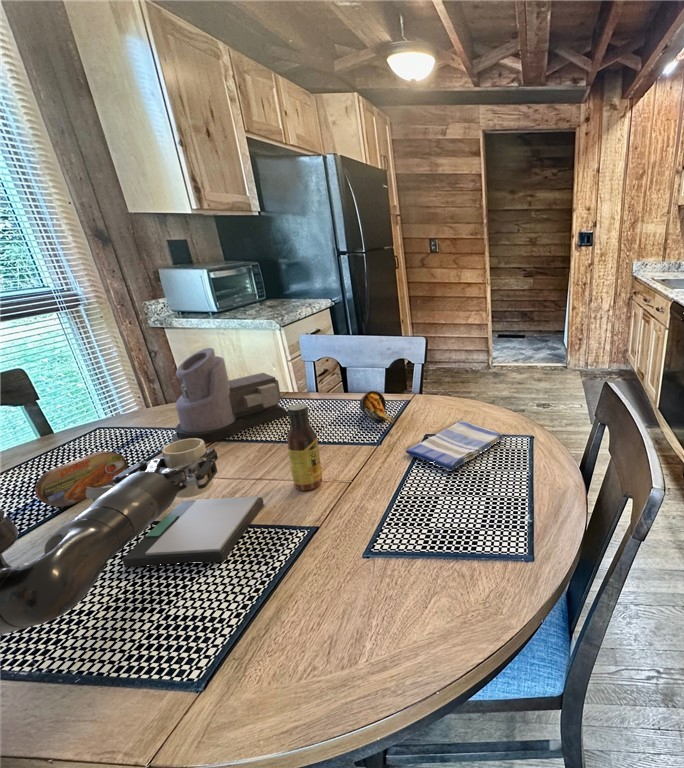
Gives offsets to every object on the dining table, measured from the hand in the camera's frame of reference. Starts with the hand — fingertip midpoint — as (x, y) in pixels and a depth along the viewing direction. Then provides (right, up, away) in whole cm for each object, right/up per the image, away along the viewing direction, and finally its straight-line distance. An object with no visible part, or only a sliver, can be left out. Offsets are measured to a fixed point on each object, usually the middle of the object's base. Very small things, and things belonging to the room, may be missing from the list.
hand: (194, 454), depth 78 cm
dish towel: (+44, -5, +40) cm, 60 cm away
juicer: (-26, +1, +49) cm, 55 cm away
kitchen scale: (-1, -16, +4) cm, 17 cm away
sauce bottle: (+12, -11, +21) cm, 26 cm away
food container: (-16, -15, +7) cm, 23 cm away
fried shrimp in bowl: (+17, +1, +55) cm, 58 cm away
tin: (-34, -11, +14) cm, 39 cm away
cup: (0, -6, 0) cm, 6 cm away
